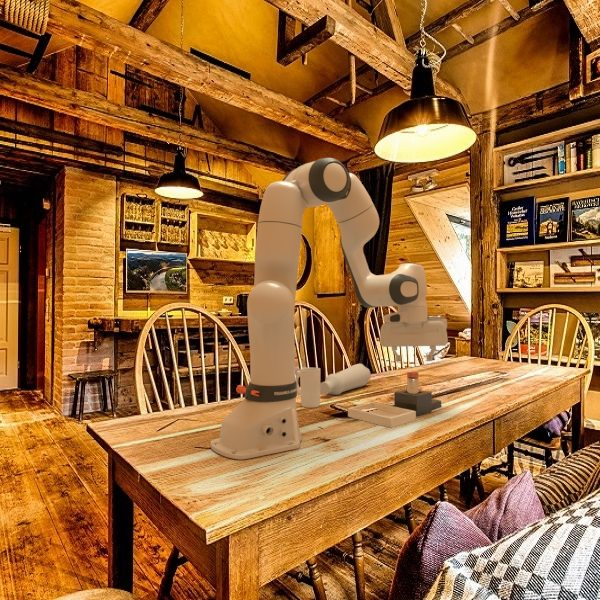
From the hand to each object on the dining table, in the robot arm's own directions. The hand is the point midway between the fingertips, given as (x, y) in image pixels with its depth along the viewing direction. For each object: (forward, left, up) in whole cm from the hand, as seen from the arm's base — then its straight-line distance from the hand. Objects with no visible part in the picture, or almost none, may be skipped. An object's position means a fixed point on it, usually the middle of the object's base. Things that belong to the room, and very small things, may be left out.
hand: (413, 360), depth 129 cm
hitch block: (+4, 0, -16) cm, 16 cm away
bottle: (+7, +36, -16) cm, 40 cm away
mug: (-18, +29, -16) cm, 38 cm away
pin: (0, 0, -16) cm, 16 cm away
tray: (-13, +2, -16) cm, 21 cm away
